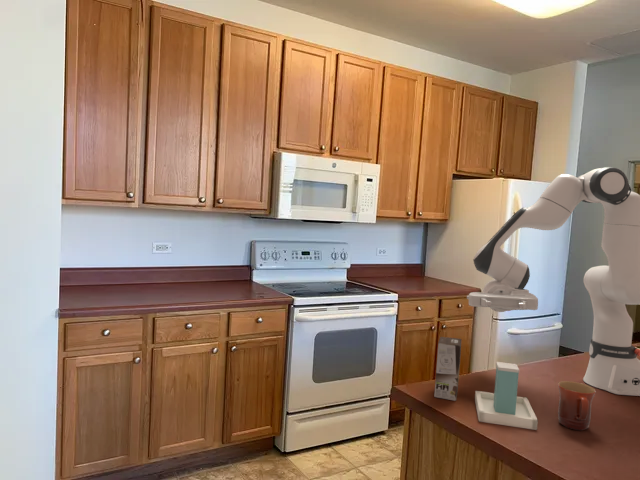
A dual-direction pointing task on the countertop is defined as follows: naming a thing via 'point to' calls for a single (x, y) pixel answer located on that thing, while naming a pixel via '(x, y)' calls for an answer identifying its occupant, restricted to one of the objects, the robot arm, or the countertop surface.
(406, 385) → the countertop surface
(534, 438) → the countertop surface
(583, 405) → the mug
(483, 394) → the tray
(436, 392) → the coffee box
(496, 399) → the tea tin
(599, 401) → the countertop surface
